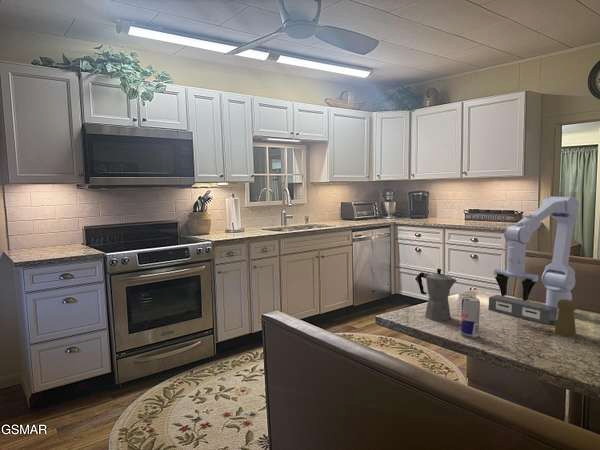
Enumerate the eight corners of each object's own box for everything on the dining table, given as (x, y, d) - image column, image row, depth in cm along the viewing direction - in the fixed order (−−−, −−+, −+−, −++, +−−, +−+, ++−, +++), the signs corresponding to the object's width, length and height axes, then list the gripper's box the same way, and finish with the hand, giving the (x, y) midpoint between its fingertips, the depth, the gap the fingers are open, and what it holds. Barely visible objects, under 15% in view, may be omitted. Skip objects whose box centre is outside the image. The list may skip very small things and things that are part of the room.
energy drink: (457, 332, 136) (459, 296, 135) (473, 332, 137) (474, 296, 136) (465, 338, 131) (466, 301, 130) (481, 338, 132) (483, 300, 131)
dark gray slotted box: (496, 307, 166) (497, 294, 165) (556, 321, 148) (557, 307, 148) (488, 309, 162) (488, 297, 162) (548, 324, 144) (549, 310, 144)
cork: (579, 336, 133) (581, 302, 132) (559, 335, 134) (561, 302, 133) (570, 330, 139) (572, 298, 138) (551, 329, 140) (552, 297, 139)
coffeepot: (460, 318, 152) (462, 269, 150) (448, 324, 145) (450, 273, 144) (422, 309, 163) (423, 264, 161) (409, 314, 156) (410, 267, 155)
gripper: (490, 258, 150) (488, 295, 151) (532, 264, 138) (530, 304, 140) (500, 256, 154) (498, 292, 155) (541, 261, 143) (539, 300, 144)
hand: (514, 297), depth 148 cm, fingers open, 7 cm apart
